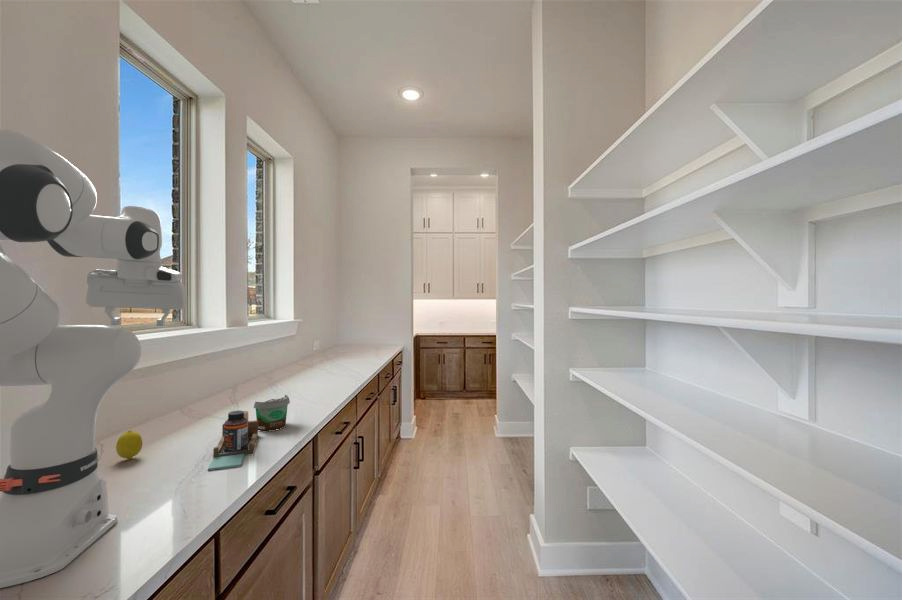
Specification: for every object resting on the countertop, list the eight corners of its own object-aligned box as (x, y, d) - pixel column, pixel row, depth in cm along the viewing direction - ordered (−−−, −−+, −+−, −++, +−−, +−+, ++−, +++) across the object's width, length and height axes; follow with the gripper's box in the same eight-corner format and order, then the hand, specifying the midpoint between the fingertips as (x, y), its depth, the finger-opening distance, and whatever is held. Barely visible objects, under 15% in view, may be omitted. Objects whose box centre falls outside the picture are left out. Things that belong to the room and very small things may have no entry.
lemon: (127, 464, 103) (127, 434, 103) (110, 462, 104) (110, 432, 104) (147, 456, 108) (147, 427, 108) (131, 454, 109) (131, 426, 109)
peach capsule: (247, 444, 118) (247, 414, 118) (228, 446, 116) (228, 416, 116) (248, 438, 123) (249, 410, 123) (230, 440, 121) (231, 411, 121)
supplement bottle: (218, 453, 111) (218, 414, 111) (235, 446, 116) (236, 408, 116) (235, 456, 109) (235, 416, 109) (251, 448, 115) (252, 410, 115)
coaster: (240, 466, 102) (241, 464, 102) (207, 470, 99) (207, 468, 99) (244, 455, 109) (244, 453, 109) (213, 459, 106) (213, 457, 106)
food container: (264, 435, 126) (264, 404, 126) (253, 431, 129) (253, 401, 129) (297, 425, 136) (297, 396, 136) (286, 422, 139) (286, 394, 139)
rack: (252, 454, 110) (253, 436, 110) (213, 459, 106) (213, 441, 106) (257, 435, 125) (257, 420, 125) (223, 439, 122) (223, 423, 122)
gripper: (81, 269, 92) (80, 326, 93) (183, 275, 101) (182, 328, 102) (92, 268, 98) (92, 322, 99) (188, 274, 106) (187, 324, 108)
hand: (138, 325), depth 101 cm, fingers open, 8 cm apart
